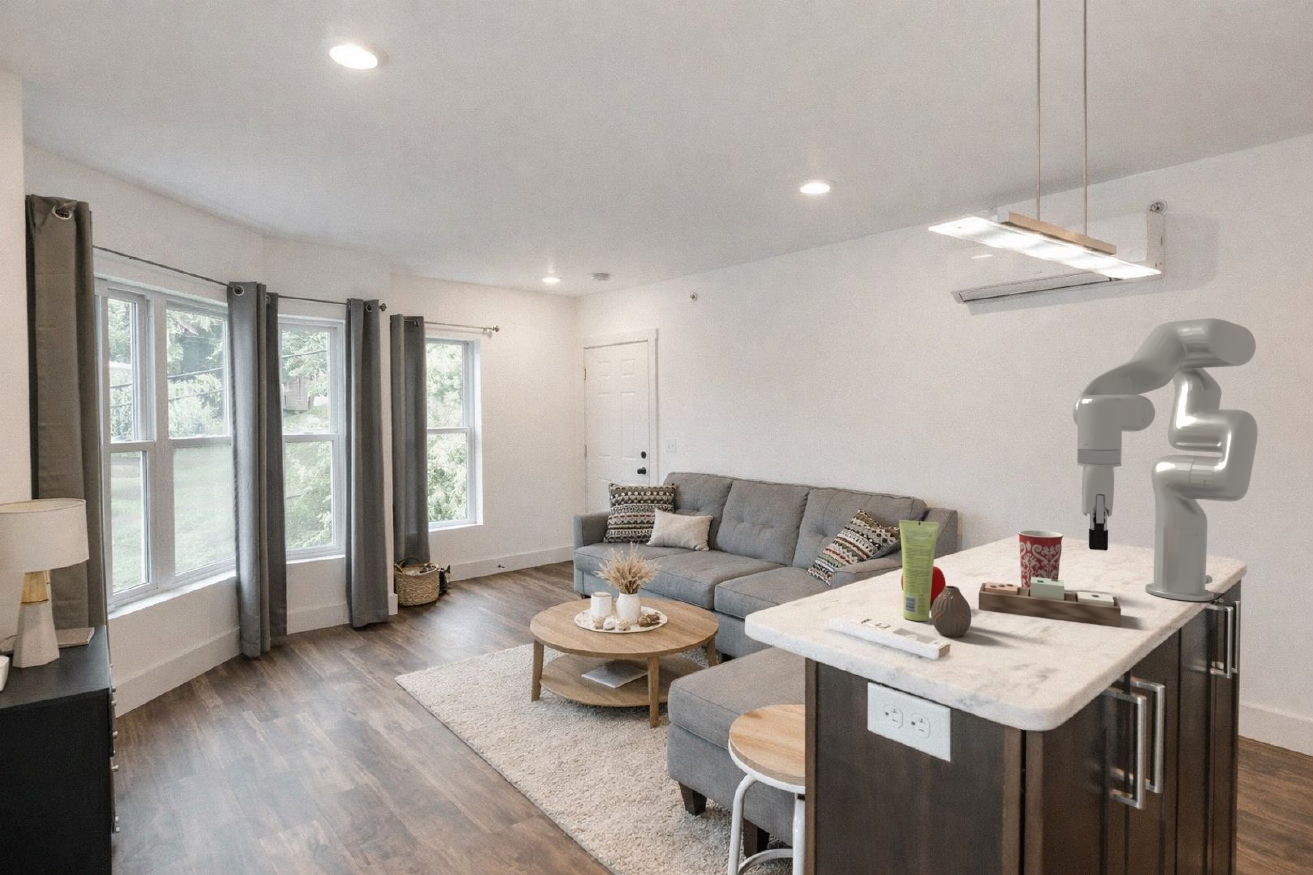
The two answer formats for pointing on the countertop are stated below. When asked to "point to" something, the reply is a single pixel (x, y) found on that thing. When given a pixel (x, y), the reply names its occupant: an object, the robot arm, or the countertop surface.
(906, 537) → the tube
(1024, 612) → the wooden compartment tray
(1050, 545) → the mug
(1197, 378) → the robot arm
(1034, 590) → the tile two
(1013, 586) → the tile three
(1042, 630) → the countertop surface
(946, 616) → the vase
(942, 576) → the fruit
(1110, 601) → the tile one
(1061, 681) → the countertop surface
